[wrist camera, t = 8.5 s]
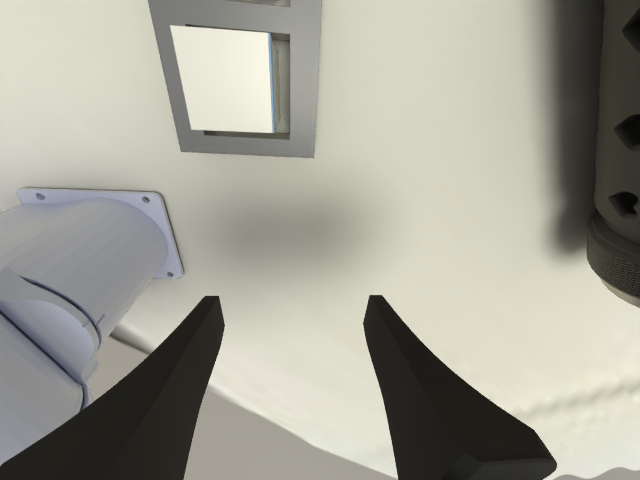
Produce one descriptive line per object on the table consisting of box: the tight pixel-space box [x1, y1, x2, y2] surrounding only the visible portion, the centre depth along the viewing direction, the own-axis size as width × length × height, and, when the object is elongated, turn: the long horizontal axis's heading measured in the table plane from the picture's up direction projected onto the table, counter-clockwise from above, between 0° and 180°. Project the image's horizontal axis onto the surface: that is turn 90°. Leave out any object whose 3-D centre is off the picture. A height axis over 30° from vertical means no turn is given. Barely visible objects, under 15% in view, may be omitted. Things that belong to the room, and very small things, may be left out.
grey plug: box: [170, 25, 280, 133], centre depth 13 cm, size 4×4×6 cm
